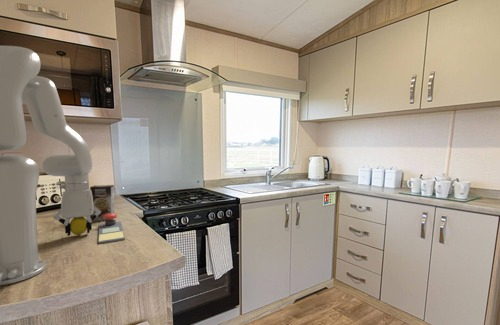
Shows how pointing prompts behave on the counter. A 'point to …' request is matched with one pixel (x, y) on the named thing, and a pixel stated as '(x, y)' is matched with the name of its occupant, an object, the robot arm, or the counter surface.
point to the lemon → (78, 225)
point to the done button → (110, 216)
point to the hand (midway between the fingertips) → (78, 233)
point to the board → (110, 231)
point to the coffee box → (103, 200)
